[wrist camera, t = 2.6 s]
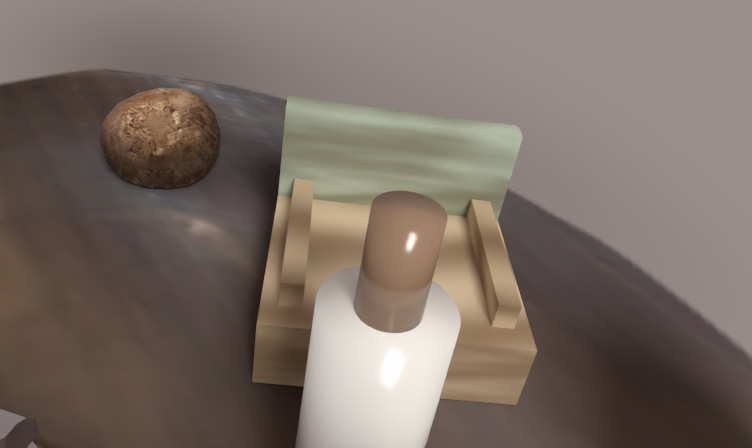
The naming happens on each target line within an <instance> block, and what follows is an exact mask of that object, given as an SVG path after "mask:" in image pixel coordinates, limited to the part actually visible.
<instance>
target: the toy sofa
mask: <svg viewBox="0 0 752 448" xmlns="http://www.w3.org/2000/svg"><path fill="white" fill-rule="evenodd" d="M522 138H523V137H522V134H521V132H520V130H519V127H518V126H514V125H506V124H499V123H491V122H483V121H476V120H469V119H461V118H452V117H446V116H437V115H430V114H422V113H415V112H407V111H400V110H392V109H384V108H376V107H368V106H361V105H354V104H345V103H339V102H331V101H323V100H316V99H308V98H301V97H293V96H288V99H287V105H286V114H285V125H284V136H283V147H282V158H281V169H280V180H279V191H278V199H277V205H276V211H275V217H274V223H273V229H272V235H271V241H270V247H269V253H268V259H267V265H266V271H265V277H264V283H263V289H262V295H261V301H260V307H259V313H258V319H257V325H256V338H255V350H254V363H253V375H252V382H257V383H268V384H280V385H291V386H302V387H304V380H305V373H306V366H307V359H308V351H309V344H310V337H311V330H312V322H313V315H314V308H315V301H316V296H317V292H318V290H319V288H320V286H321V285H322V284H323V283H324V281H325V280H326V279H327V278H329V277H330V276H331V275H333V274H334V273H336V272H338V271H340V270H342V269H345V268H348V267H351V266H355V265H361V260H362V254H363V249H364V243H365V238H366V232H367V226H368V221H369V215H370V210H371V204H372V201H373V200H374V199H375V198H376V197H377V196H378V195H380V194H382V193H385V192H389V191H410V192H415V193H419V194H422V195H425V196H427V197H429V198H431V199H433V200H435V201H436V202H438V203H439V204H440V205H441V206H442V207H443V208H444V209H445V211H446V213H447V216H448V220H447V224H446V228H445V232H444V236H443V240H442V244H441V248H440V252H439V256H438V260H437V264H436V268H435V272H434V275H433V279H432V280H433V281H434V282H436V283H437V284H439V285H440V286H441V287H442V288H443V289H444V290H445V291H446V292H447V293H448V294H449V295H450V296H451V297H452V299H453V300H454V302H455V304H456V306H457V307H458V310H459V313H460V319H461V325H460V330H459V334H458V337H457V341H456V344H455V348H454V351H453V354H452V358H451V361H450V365H449V368H448V371H447V375H446V378H445V381H444V385H443V388H442V392H441V395H440V399H452V400H463V401H475V402H486V403H498V404H509V405H517V402H518V399H519V397H520V394H521V392H522V389H523V386H524V384H525V381H526V379H527V376H528V374H529V371H530V368H531V366H532V363H533V361H534V358H535V355H536V353H537V349H536V345H535V342H534V339H533V336H532V332H531V329H530V326H529V322H528V319H527V316H526V312H525V309H524V306H523V303H522V299H521V296H520V293H519V289H518V286H517V283H516V279H515V276H514V273H513V270H512V266H511V263H510V260H509V256H508V253H507V250H506V246H505V243H504V240H503V236H502V233H501V230H500V227H499V223H498V218H499V214H500V211H501V208H502V205H503V201H504V198H505V195H506V191H507V188H508V185H509V181H510V178H511V174H512V171H513V168H514V165H515V161H516V158H517V155H518V151H519V148H520V145H521V141H522Z"/></svg>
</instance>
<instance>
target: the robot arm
mask: <svg viewBox="0 0 752 448" xmlns="http://www.w3.org/2000/svg"><path fill="white" fill-rule="evenodd" d="M38 434H39V433H38V429H37V425H36V421H35V419H33V418H30V417H27V416H24V415H20V414H17V413H14V412H11V411H8V410H4V409H1V408H0V448H38V447H37V446H36V445H35V444H34V443H33V442H32V441H33V440H34V438H35V437H36V436H37V435H38Z"/></svg>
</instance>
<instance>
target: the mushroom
mask: <svg viewBox="0 0 752 448" xmlns="http://www.w3.org/2000/svg"><path fill="white" fill-rule="evenodd" d="M220 135H221V133H220V130H219V126H218V123H217V120H216V117H215V114H214V112H213V111H212V110H211V109H210V107H209V106H208V105H207V104H206V103H205V101H204V100H203V99H202V98H201V97H199V96H197V95H194V94H192V93H190V92H188V91H185V90H183V89H175V88H157V89H153V90H149V91H145V92H142V93H138V94H136V95H134V96H132V97H130V98H128V99H126V100H124V101H122V102H120V103H118V104H117V105H116V106H115V107H114V108H113V109H112V111H111V112H110V113H109V114H108V115H107V116H106V118H105V119H104V120H103V126H102V134H101V146H102V148H103V151H104V153H105V156H106V159H107V161H108V164H109V165H110V166H111V167H112V168H113V169H114V170H115V171H117V172H118V173H119V174H120V175H121V176H122V177H123V178H124V179H125V180H127V181H130V182H132V183H135V184H137V185H140V186H142V187H145V188H159V189H171V188H176V187H181V186H187V185H190V184H192V183H193V182H195V181H196V180H198V179H200V178H201V177H203V176H204V175H206V174H207V173H208V172H209V170H210V169H211V167H212V166H213V164H214V162H215V161H216V159H217V158H218V156H219V148H220Z"/></svg>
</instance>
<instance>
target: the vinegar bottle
mask: <svg viewBox="0 0 752 448" xmlns="http://www.w3.org/2000/svg"><path fill="white" fill-rule="evenodd" d="M447 220H448V216H447V213H446V211H445V209H444V208H443V207H442V206H441V205H440V204H439V203H438V202H436V201H435V200H433V199H431V198H429V197H427V196H425V195H422V194H419V193H415V192H410V191H389V192H385V193H382V194H380V195H378V196H377V197H376V198H375V199H374V200H373V201H372V204H371V210H370V215H369V221H368V226H367V232H366V238H365V243H364V249H363V254H362V260H361V265H355V266H351V267H348V268H345V269H342V270H340V271H338V272H336V273H334V274H333V275H331V276H330V277H329V278H327V279H326V280H325V281H324V283H323V284H322V285H321V286H320V288H319V290H318V292H317V296H316V301H315V308H314V315H313V322H312V330H311V337H310V344H309V351H308V359H307V366H306V373H305V380H304V388H303V395H302V402H301V409H300V416H299V424H298V431H297V438H296V445H295V448H425V446H426V442H427V439H428V436H429V432H430V429H431V425H432V422H433V419H434V415H435V412H436V409H437V405H438V402H439V398H440V395H441V392H442V388H443V385H444V381H445V378H446V375H447V371H448V368H449V365H450V361H451V358H452V354H453V351H454V348H455V344H456V341H457V337H458V334H459V330H460V325H461V319H460V313H459V310H458V307H457V306H456V304H455V302H454V300H453V299H452V297H451V296H450V295H449V294H448V293H447V292H446V291H445V290H444V289H443V288H442V287H441V286H440V285H439V284H437V283H436V282H434V281H433V280H432V279H433V275H434V272H435V268H436V264H437V260H438V256H439V252H440V248H441V244H442V240H443V236H444V232H445V228H446V224H447Z"/></svg>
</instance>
